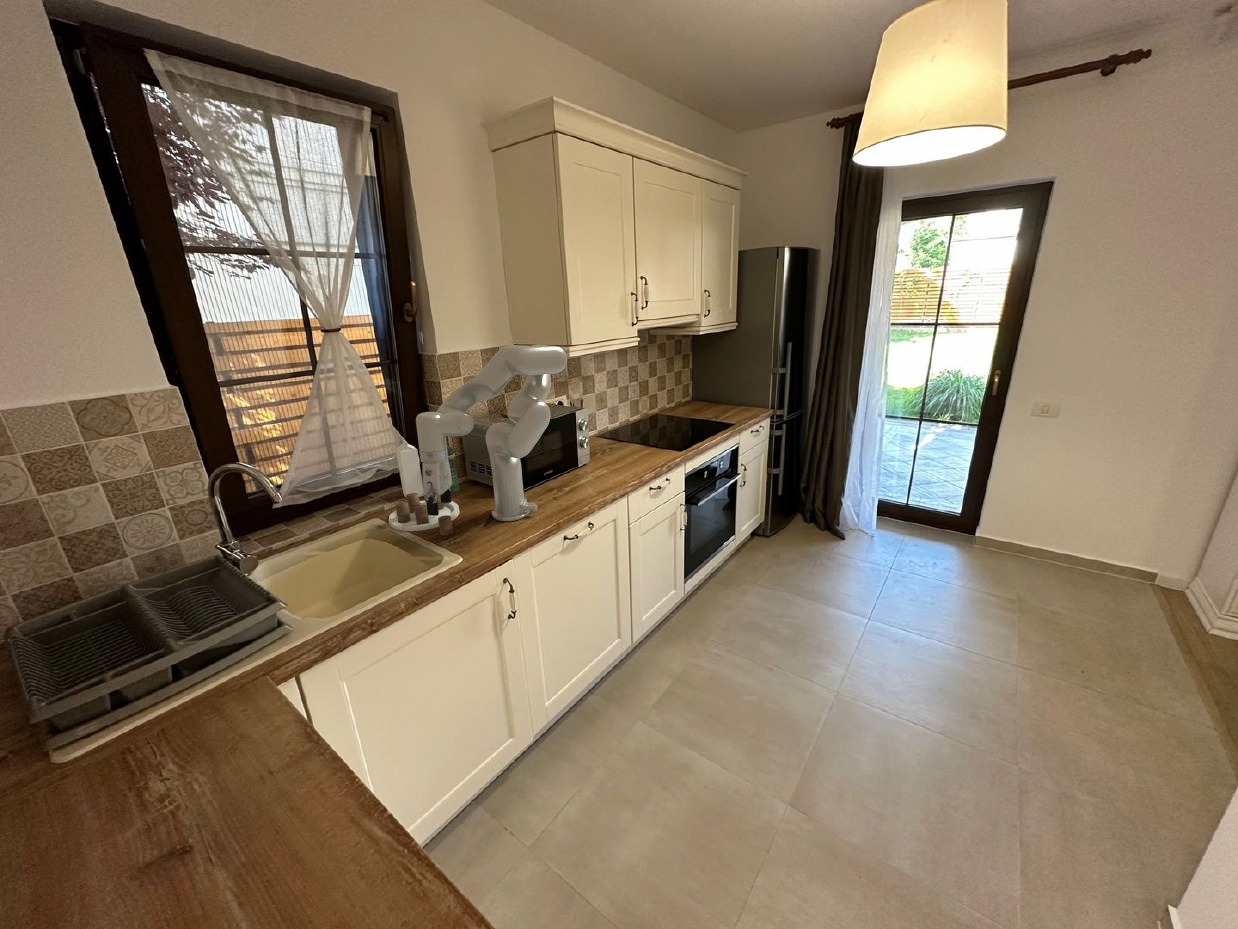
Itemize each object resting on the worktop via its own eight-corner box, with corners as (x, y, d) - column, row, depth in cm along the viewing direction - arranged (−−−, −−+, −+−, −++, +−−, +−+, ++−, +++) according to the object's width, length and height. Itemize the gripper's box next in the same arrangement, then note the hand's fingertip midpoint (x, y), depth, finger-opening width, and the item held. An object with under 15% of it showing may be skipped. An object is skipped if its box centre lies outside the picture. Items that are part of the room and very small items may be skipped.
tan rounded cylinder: (455, 532, 152) (452, 515, 150) (450, 538, 149) (448, 520, 147) (443, 532, 152) (440, 515, 150) (438, 538, 149) (435, 520, 147)
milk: (408, 502, 176) (397, 444, 169) (403, 497, 181) (393, 440, 173) (425, 497, 179) (415, 440, 172) (420, 492, 184) (411, 437, 177)
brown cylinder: (445, 506, 169) (443, 490, 168) (441, 510, 166) (439, 494, 164) (435, 505, 170) (432, 490, 168) (430, 510, 166) (428, 494, 164)
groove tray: (468, 505, 172) (468, 499, 171) (445, 533, 151) (444, 527, 151) (408, 505, 173) (407, 499, 173) (376, 533, 153) (375, 527, 152)
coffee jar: (463, 491, 185) (456, 444, 179) (444, 497, 179) (436, 449, 173) (449, 485, 191) (443, 440, 185) (431, 491, 185) (423, 444, 179)
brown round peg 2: (431, 521, 158) (428, 504, 156) (426, 526, 154) (423, 509, 152) (419, 521, 158) (417, 504, 156) (414, 526, 154) (411, 509, 152)
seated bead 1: (422, 508, 168) (420, 492, 166) (417, 513, 164) (415, 497, 162) (411, 508, 168) (409, 492, 166) (406, 513, 164) (404, 497, 162)
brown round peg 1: (412, 518, 160) (409, 501, 158) (407, 523, 157) (404, 506, 155) (401, 518, 161) (398, 501, 159) (396, 523, 157) (393, 506, 155)
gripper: (434, 463, 133) (440, 520, 138) (457, 446, 150) (462, 498, 155) (407, 463, 134) (415, 520, 139) (433, 446, 150) (439, 497, 155)
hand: (440, 508), depth 147 cm, fingers open, 9 cm apart
